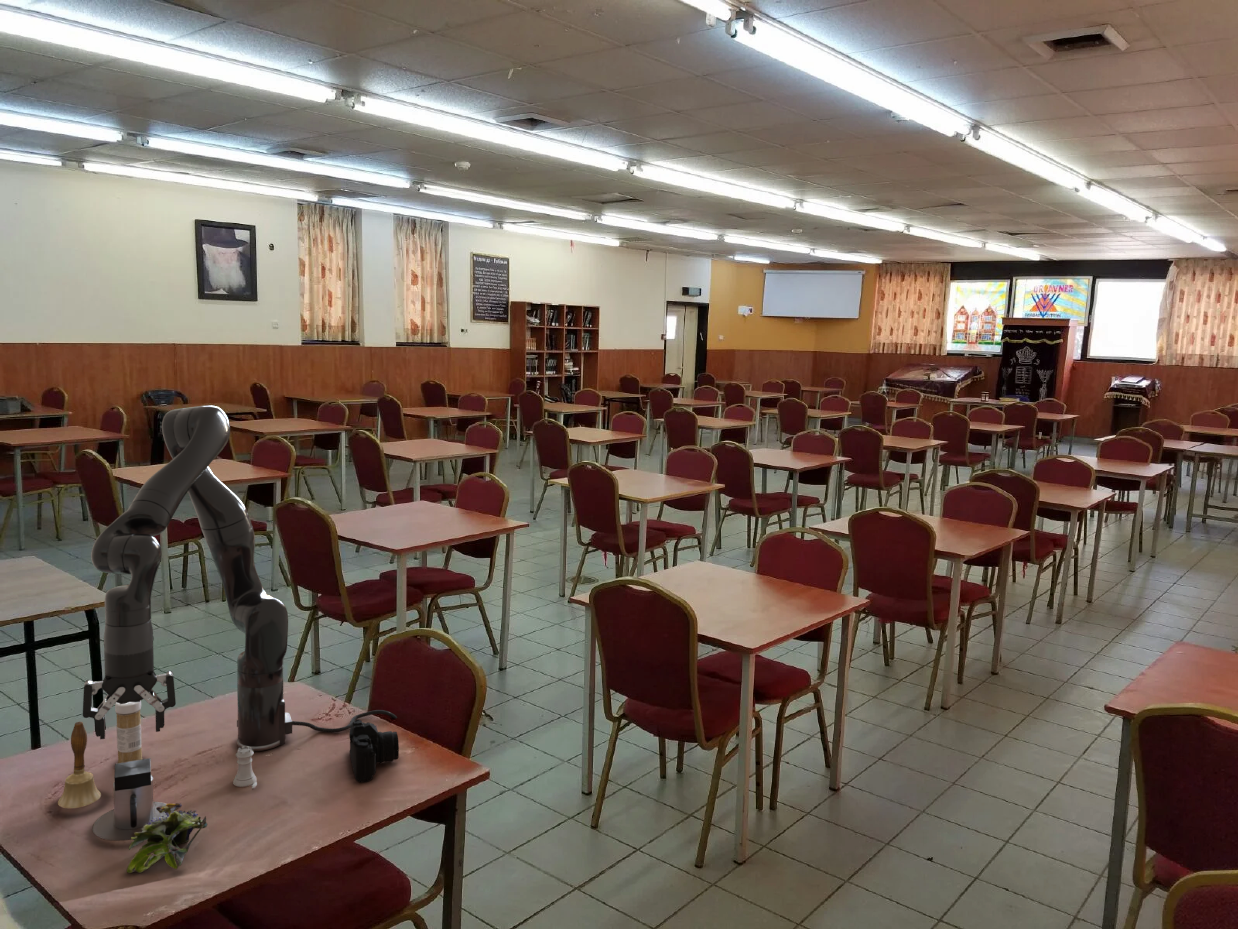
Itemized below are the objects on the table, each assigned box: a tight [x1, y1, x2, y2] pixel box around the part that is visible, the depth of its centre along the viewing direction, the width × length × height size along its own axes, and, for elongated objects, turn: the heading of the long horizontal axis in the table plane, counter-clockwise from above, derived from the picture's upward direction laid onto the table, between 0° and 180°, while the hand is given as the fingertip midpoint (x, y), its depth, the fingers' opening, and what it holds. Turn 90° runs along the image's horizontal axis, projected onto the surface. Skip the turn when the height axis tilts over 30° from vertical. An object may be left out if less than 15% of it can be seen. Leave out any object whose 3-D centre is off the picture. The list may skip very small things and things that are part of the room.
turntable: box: [91, 801, 174, 842], centre depth 158 cm, size 13×13×1 cm
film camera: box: [348, 718, 400, 783], centre depth 185 cm, size 15×10×9 cm, turn 22°
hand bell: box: [57, 721, 102, 809], centre depth 163 cm, size 8×8×16 cm
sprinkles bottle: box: [114, 700, 143, 763], centre depth 179 cm, size 5×5×13 cm
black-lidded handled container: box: [112, 757, 155, 830], centre depth 156 cm, size 9×6×10 cm
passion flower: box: [126, 802, 208, 874], centre depth 148 cm, size 11×11×12 cm
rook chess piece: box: [232, 746, 258, 790], centre depth 173 cm, size 4×4×8 cm
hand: (130, 733), depth 156 cm, fingers open, 8 cm apart
